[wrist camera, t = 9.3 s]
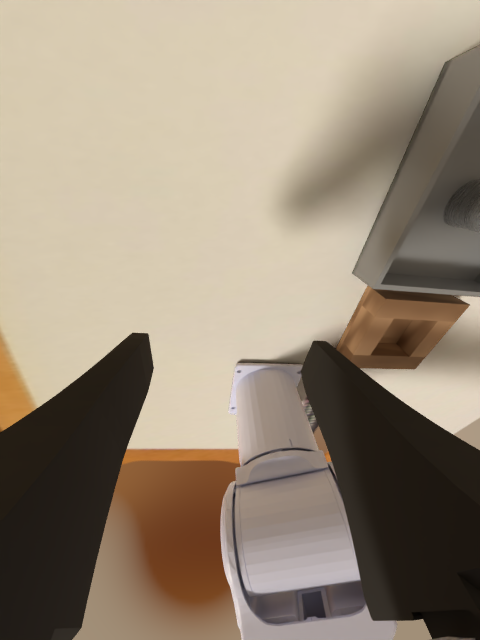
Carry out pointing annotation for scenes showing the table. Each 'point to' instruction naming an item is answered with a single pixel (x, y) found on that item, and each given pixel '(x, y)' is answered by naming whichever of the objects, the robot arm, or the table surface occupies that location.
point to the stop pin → (464, 207)
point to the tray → (431, 196)
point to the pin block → (397, 327)
